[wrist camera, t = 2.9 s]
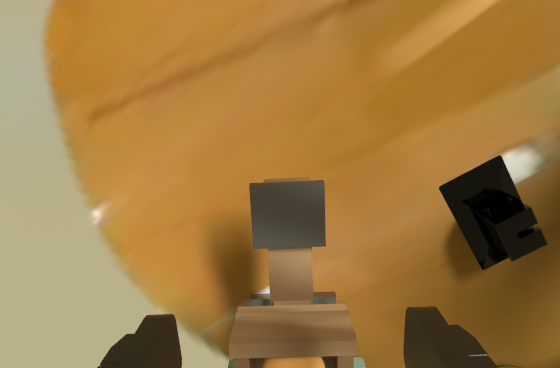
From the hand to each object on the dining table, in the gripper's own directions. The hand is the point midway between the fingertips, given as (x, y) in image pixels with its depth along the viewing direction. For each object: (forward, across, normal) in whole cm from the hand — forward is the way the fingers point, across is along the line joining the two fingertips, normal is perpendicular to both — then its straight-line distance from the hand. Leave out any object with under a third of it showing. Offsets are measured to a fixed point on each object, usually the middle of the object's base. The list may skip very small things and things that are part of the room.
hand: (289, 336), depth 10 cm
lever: (+12, 0, +7) cm, 14 cm away
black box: (+21, -18, +5) cm, 28 cm away
